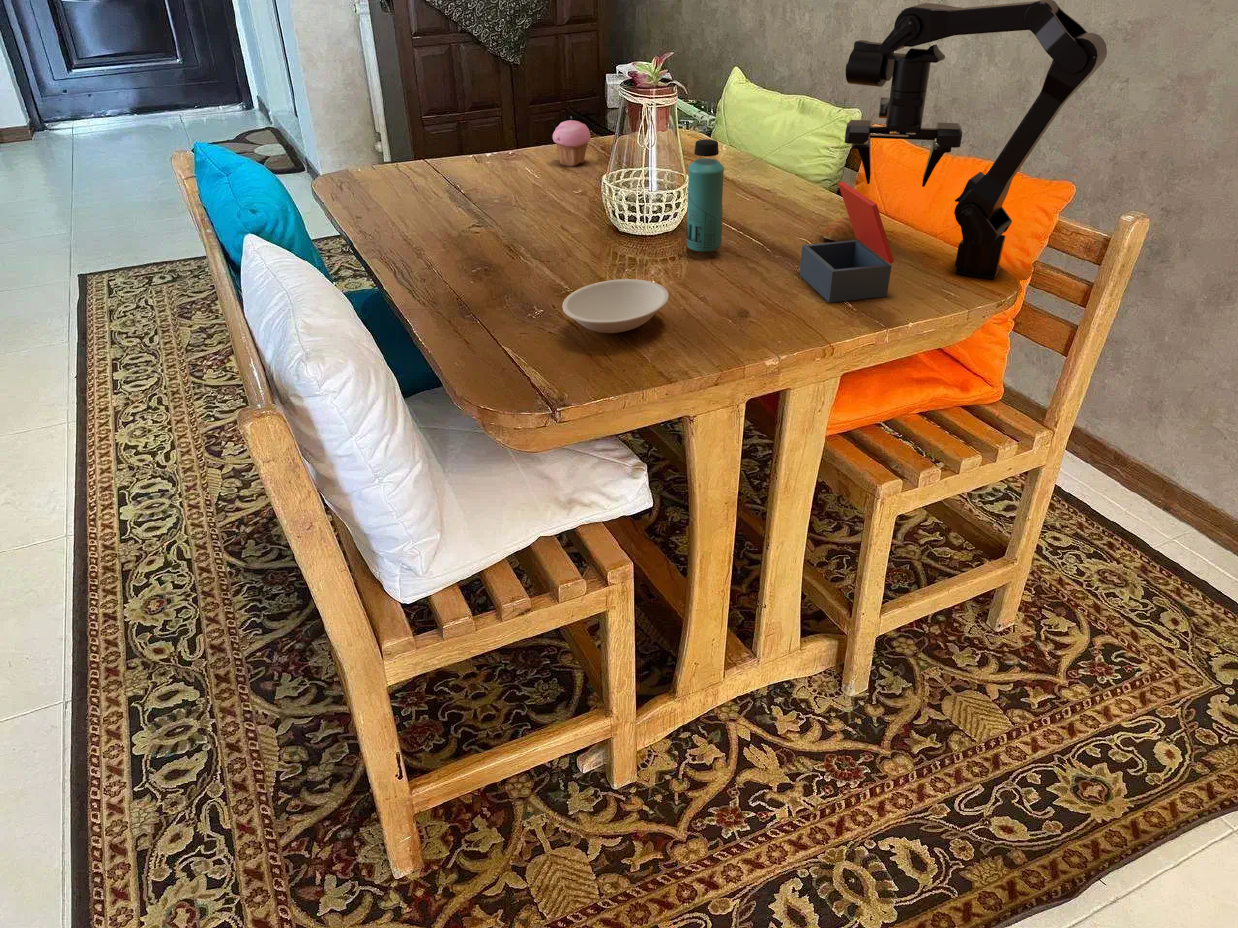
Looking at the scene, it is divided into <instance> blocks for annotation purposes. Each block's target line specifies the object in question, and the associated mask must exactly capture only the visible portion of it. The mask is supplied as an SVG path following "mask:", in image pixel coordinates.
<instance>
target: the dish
mask: <svg viewBox="0 0 1238 928" xmlns="http://www.w3.org/2000/svg"><path fill="white" fill-rule="evenodd" d="M669 298H670V295H669V291H668V290H667V289H666V288H665V287H664V286H663V285H660V284H659V283H656V282H653V281H650V280H645V279H638V278H637V279H635V278H618V279H610V280H603V281H599V282H595V283H591V284H588V285H585V286H583V287H580V288H578V289H576V290H574V291H573V292H571V293H570V294H569V295H567V296H566V297H565V298H564V300H563V302H562V311H563V313H564V314H565V315H566V316H567V317H568V318H570V319H573V320H574V321H575V322H576V323H577V324H579V325H580V326H582V327H584V328H586V329H588V330H591V331H593V332H597V333H603V334H618V333H624V332H628V331H631V330H635V329H636V328H638V327H641V326H642V325H644V324H645V323H647V322H648V321H649V320H650V319H652V318H653V317H655V315H656V314H657V313H658V311H660V310H661V309H662V308H664V307H665V305H666V304H667V303H668V301H669Z"/></svg>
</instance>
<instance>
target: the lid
mask: <svg viewBox="0 0 1238 928" xmlns="http://www.w3.org/2000/svg"><path fill="white" fill-rule="evenodd" d="M837 185H838V188H839V191H840V194H841V197H842V200H843V204H844V206H845V209H846V212H847V215H849V218H850V221H851V224H852V227H853V230H854V233H855V236H856V238H857V239H858V241H860V242H861V243H862V244H864V245H865V246H866V247H868V248H869V249H870V250H872V251H873V252H874V253H876V254H877V255H878V256H880V257H881V258H882V259H883V260H885V261H886V262H887V263H889V264H892V263H894V262H895V259H894V256H893V252H892V250H891V247H890V243H889V240H888V237H887V233H886V230H885V227H884V224H883V221H882V218H881V217H882V216H881V215H880V211H879V208H878V205H877V202H875V201H873V200H871V198H869V197H867V196H866V195H864V194H862V192H860V191H858V190H856V189H855V188H853V187H852V186H851V185H849V184H847V183H846V182H844V181H843V180H842V181H839V182H838V183H837Z"/></svg>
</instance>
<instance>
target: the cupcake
mask: <svg viewBox="0 0 1238 928" xmlns="http://www.w3.org/2000/svg"><path fill="white" fill-rule="evenodd" d="M591 139H592V138H591V132H590V129H589V127H588V126H587V125H586V124H585V123H583V122H581V121H579V120H574V119H569V120H565V121H562V122H560V123H559V124H558V126H556V127H555V130H554V131H553V133H552V140H553V142H554V144H556V148H557V153H558V154H557V155H558V161H559V163H560V164H561V165H563V166H568V167H570V166H571V167H575V166H577V165H579V164H583V163H584V162H585V157H586V153H587V147H588V145H589V142H591Z"/></svg>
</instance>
